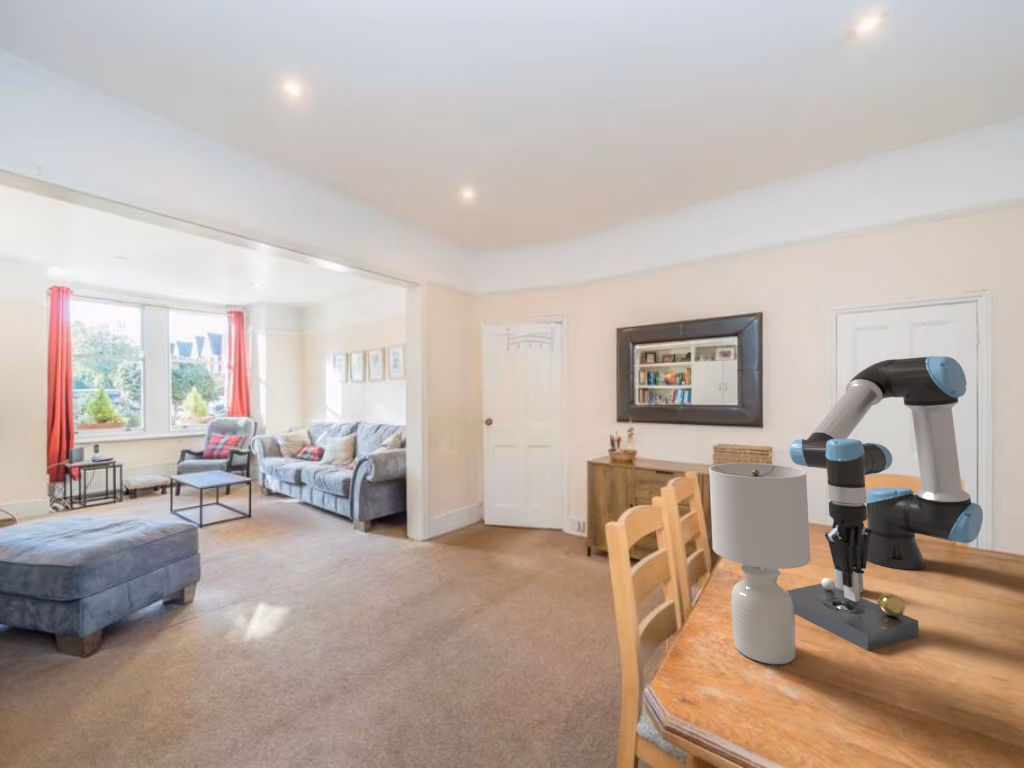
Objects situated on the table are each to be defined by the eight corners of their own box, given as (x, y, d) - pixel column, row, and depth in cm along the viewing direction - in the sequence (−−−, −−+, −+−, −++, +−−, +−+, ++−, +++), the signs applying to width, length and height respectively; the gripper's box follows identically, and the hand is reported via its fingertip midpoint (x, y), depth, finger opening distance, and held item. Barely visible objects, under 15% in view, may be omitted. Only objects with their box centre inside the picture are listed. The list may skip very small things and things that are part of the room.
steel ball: (827, 611, 111) (836, 620, 111) (841, 618, 107) (850, 626, 108) (834, 599, 111) (842, 608, 112) (848, 606, 108) (857, 614, 109)
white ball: (827, 586, 120) (826, 575, 120) (838, 591, 117) (837, 579, 118) (818, 588, 119) (818, 576, 119) (829, 592, 117) (829, 581, 117)
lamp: (703, 628, 108) (696, 464, 109) (783, 627, 108) (775, 461, 108) (740, 677, 89) (731, 479, 90) (837, 676, 89) (827, 476, 90)
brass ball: (887, 609, 107) (886, 589, 107) (910, 618, 103) (909, 597, 103) (873, 613, 106) (872, 592, 106) (895, 622, 101) (894, 601, 101)
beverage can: (868, 596, 122) (866, 551, 122) (841, 594, 123) (839, 550, 123) (855, 586, 128) (853, 543, 128) (830, 584, 129) (828, 542, 129)
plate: (824, 595, 123) (824, 582, 123) (918, 636, 102) (918, 620, 102) (779, 605, 118) (778, 592, 118) (868, 650, 97) (867, 634, 97)
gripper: (850, 496, 117) (855, 588, 116) (812, 501, 113) (817, 597, 112) (882, 502, 110) (887, 600, 109) (842, 508, 106) (848, 610, 105)
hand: (851, 598), depth 111 cm, fingers closed
